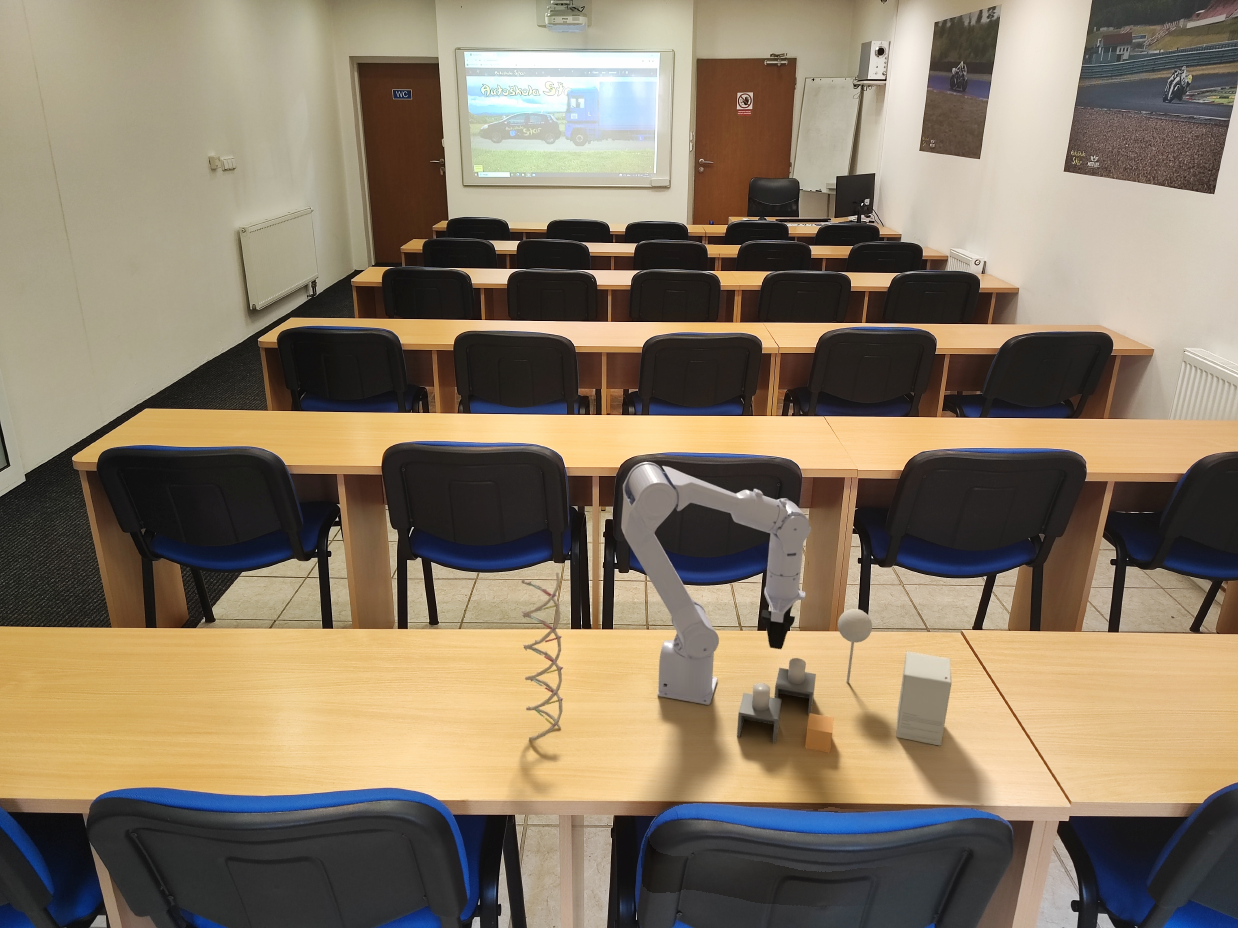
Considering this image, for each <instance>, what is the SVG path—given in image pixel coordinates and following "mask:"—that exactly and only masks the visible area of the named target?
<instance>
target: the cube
mask: <svg viewBox="0 0 1238 928" xmlns="http://www.w3.org/2000/svg"><path fill="white" fill-rule="evenodd" d="M834 721H835V718H834V717H831V716H826V715H821V714H815V713H812V712H811V713H809V716H808V721H807V725H806V726H807V727H806V728H807V729H806V736H805V746H804V748H805V749H810V750H814V751H819V752H826V753H831V748H832V739H833V732H834V731H833V730H834Z"/></svg>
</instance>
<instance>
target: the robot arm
mask: <svg viewBox="0 0 1238 928" xmlns="http://www.w3.org/2000/svg"><path fill="white" fill-rule="evenodd" d="M661 467H662V468H663V469H662V468H661ZM663 470H664V471H663ZM622 493H623V495H622V496H623V497H622V498H623V501H622V512H621V525H620V527H621V530H622V531H621V532H622V533H623V535H624V538H625V540H626V541H627V543H628V545H629V547H630V549H631V551H633V554H634V555H635V557H636V559H637V560H638V562H639V563H640V565H641V567H642V568H643V570H644V572H645V574H646V575H647V577H648V578H649V581H650V583H651V584H652V586H653V587H654V589H655V591H656V593H657V594H658V596H659V597H660V599H661V600H662V603H663V604H664V606H665V608H666V609H667V611H668V612H669V614H670V617H671V618H670V619H671V625H672V626H673V628H674V629H675V631H676V634H675V636H674V639H671V640H664V641H663V643H662V645H661V649H660V654H659V655H660V656H659V665H658V691H657V696H658V697H662V698H668V699H673V700H677V701H679V700H680V701H685V702H691V703H695V704H701V705H706V706H709V705H710V704H712V703H711V702H712V699H713V695H714V692H715V689H716V686H717V682H718V677H716V676H713V675H714V674H713V673H714V660H715V659H714V655H715V652H716V650H717V648H718V646H719V643H720V638H719V635H718V633H717V631H716V630H715V629H714V627H713V624H711V621H710V620H709V617H708V616H707V614H706V610H705V608H704V606H703V605H702V604H700V603H699V602H697V601H695V600H694V599H693V598H692V596H691V594H690V593H689V591H688V590H687V588H686V585H684V583H683V581H682V579H681V578H680V576H679V574H678V573H677V570H676V569H675V567H674V565H673V564H672V562H671V561H670V559H669V557H668V555H667V554H666V551H665V550H664V548H663V546H662V545H661V543H660V540H659V539H658V538H657V536H656V534H655V532H656V531H657V528H658V527H659V526H660V525H661V524H663V522H664V521H665V520H666V519H667V518H668V516H669V515H670V514H671V513H672V512H673V511H674V509H676V511H677V512H680V511H682V510H683V509H684V508H685V507H687V506H688V505H689V504H694V505H695V504H696V505H700V506H703V507H706V508H710V509H714V510H718V511H721V512H725V513H728V514H729V513H730V515H731V518H732V520H733V522H734V523H737V524H740V525H743V526H746V527H749V528H752V529H754V530H758V531H762V532H765V533H769V534H770V536H769V544H768V545H769V546H768V557H767V568H766V583H765V587H764V592H763V593H764V596H765V598H766V601H767V604H768V605H769V609H770V610H768V609H767V610H766V609H762V611H761V616H760V617H761V620H762V623H763V624H764V626H765V629H766V633H767V641H768V646H769V648H771V649H775V650H776V649H777V650H782V649H783V647H784V644H785V641H786V640H785V639H786V637H787V634H788V632H789V630H790V628H791V627H792V626H793V624H794V622H795V619H796V616H793V615H791V612H792V608H793V606H794V604H795V603H796V602H797V601H804V600H805V599H806V592H805V591H803V590H801V588H800V584H801V583H800V582H801V572H802V561H803V553H804V552H803V551H804V543H805V541H806V540H807V539H808V537H809V536H810V534H811V532H812V527H811V526H810V520H809V518H808V517H807V516H806V514H804V512H803V511H802V510H801V509H800V507H799V506H797V504H795V503H794V502H793V501H791V500H789V498H786V497H785V498H779V499H775V498H771V497H768V496H765V495H764V493H763V492H762V491H761V490H760V489H757V488H753V491H752V490H749V489H743V490H741V491H739V492H736V493H735V492H732V491H730V490H727V489H724V488H722V487H719V486H717V485H715V484H712V483H709V482H707V481H705V480H701V479H699V478H696V477H694V476H691V475H689V474H686V473H684V472H681V471H679V470H677V469H676V468H675V469H674V468H672V467H670V466H665V465H662V466H659V465H658V464H656V463H654V462H650V461H648V462H647V461H645V462H641V463H638V464H636V465H634V466H633V467H632V468H631V470H630V471H629V473H628V474H627V477H626V478H625V481H624V483H623V484H622Z"/></svg>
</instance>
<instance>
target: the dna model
mask: <svg viewBox="0 0 1238 928" xmlns="http://www.w3.org/2000/svg"><path fill="white" fill-rule="evenodd" d="M555 577H556V585H555V587H554V590H553V592H552V593H551V592H550V591H548V590H547V589H546V588H544V587H542V586H540V585H537V584H536V583H533V582H532V581H527V580H525V579H521V584H524V585H526V586H530V587H533V588H534V589H537V590H539V591H540V592H541V593H543V594H544V595H546V596H548V598H547V599H546V600H545V601H544V602H541V604H539V605H538V606H536V607H535V608H532V609H530V610H528V611H526V610H523V611H521V613H522V617H523V618H524V619H526V618H529V619H531V620H534V621H536V622H537V623H538V624H539V623H540V624H543V626H544V627H546V628H548V629H549V631H548V632H547V633H546V634H544V635H543V636H542V637H541V638H540V639H535V640H534V642H532V643H530V644H529V643H528V644H523V645H522V646H523V649H524V650H525V651H528V650H530V651H532V652H535V653H536V654H537V655H540V656H543V658H545V659H546V660H548V661H549V662H551V663H550V664H549V666H547V667H546V668H544V669H543V670H541V671H539V672H537V671H536V673H534V674H530V675H528V676H525V677H524V680H525V681H530V682H534V683H536V684H537V685H539V686H540V687H543V688H544V689H545V690H546V691H548V692H550V693H551V694H550V695H549V697H547V698H546V699H545V700H544V701H542V702H540V703H537V704H535V705H534V706H527V707H526V708H525V711H535V712H536V713H537V714H538V715H540V716H541V717H543V718H544V719H545V721H547V722H548V723H549V724H550V725H551V726H550V727H549V728H548V729H546V730H545V731H544V732H541V733H538V734H537V735H533V736H531V737H528V741H534V740H535V741H536V740H537V739H541V738H543V737H545V736H547V735H548V734H550V733H551V732H552V731H553V730H554V729H555V728H556V727H557V728H558V730H561V728H562V727H561V725H560V720H561V717H562V714H563V700H564V698H563V697H561V696H560V693H559V691H560V690H561V686H562V682H563V675H562V670H563V669H564V667H563V666H560V664H559V662H558V660H559V658H560V655H561V652H562V641H561V638H563V637H562V636H561V635H559V633H558V631H557V628H558V626H559V625H560V621H561V608H560V604H559V603H560V602H559V601H558V600H557V598H556V597H557V592H558V591H559V588H560V585H561V580H560V579H561V578H560V573H559V572H555ZM551 601H552V603H554V604H553V605H549V603H550V602H551ZM548 605H549V606H548ZM546 606H547V607H546ZM552 608H555V609H556V614H555V618H554V619H555V620H554V625H553V626H552V625H551V624H550V623H549V622H548V621H546V620H544V619H542V618H541V617H538V616H535V615H534V614H533V613H536V612H540V611H544V610H548V609H552ZM552 634H553V635H554V636H555V637H554V638H550V636H551V635H552ZM548 638H549V639H548ZM552 641H556V643H557V653H556V654H555V657H553V656H552V655H551V654H549V653H548V650H542V649H540V648H539V647H535V646H537V645H540V644H543V643H549V642H552ZM553 666H554V667H555V669H552V668H554V667H553ZM554 672H557V676H558V683H557V684H556V687H555V688H554V687H553V686H552V685H550V683H548V681H545V680H544V679H541V678H538V677H541V676H544V675H547V674H551V673H554ZM555 696H556V698H557V699H555V700H553V699H554V698H555ZM552 700H553V701H552ZM554 703H555V704H556V703H558V715H557V717H555V716H554V715H552V713H550V712H548V711H546V710H545V709H541V708H542V707H544V706H548V705H552V704H554ZM546 716H547V717H546ZM548 717H549V718H548ZM549 719H551V720H552V721H551V720H549Z"/></svg>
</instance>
